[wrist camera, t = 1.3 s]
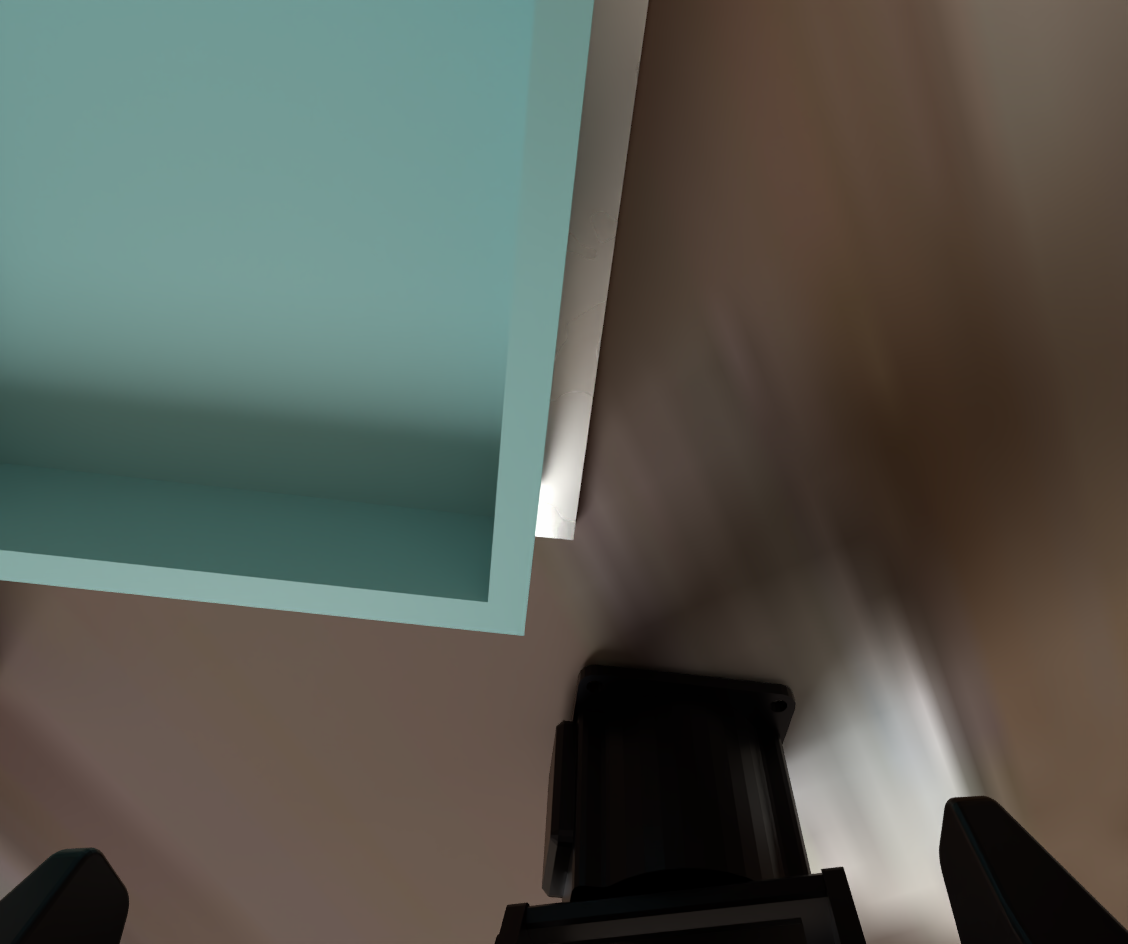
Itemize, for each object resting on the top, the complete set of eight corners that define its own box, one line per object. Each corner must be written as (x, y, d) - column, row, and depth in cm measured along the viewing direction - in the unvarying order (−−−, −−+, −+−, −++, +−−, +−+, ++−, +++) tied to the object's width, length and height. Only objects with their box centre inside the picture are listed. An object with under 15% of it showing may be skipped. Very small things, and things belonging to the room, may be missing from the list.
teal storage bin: (614, -173, 14) (618, -216, 10) (538, 511, 22) (523, 635, 18) (-234, -283, 14) (-556, -369, 10) (-19, 449, 21) (-158, 563, 18)
